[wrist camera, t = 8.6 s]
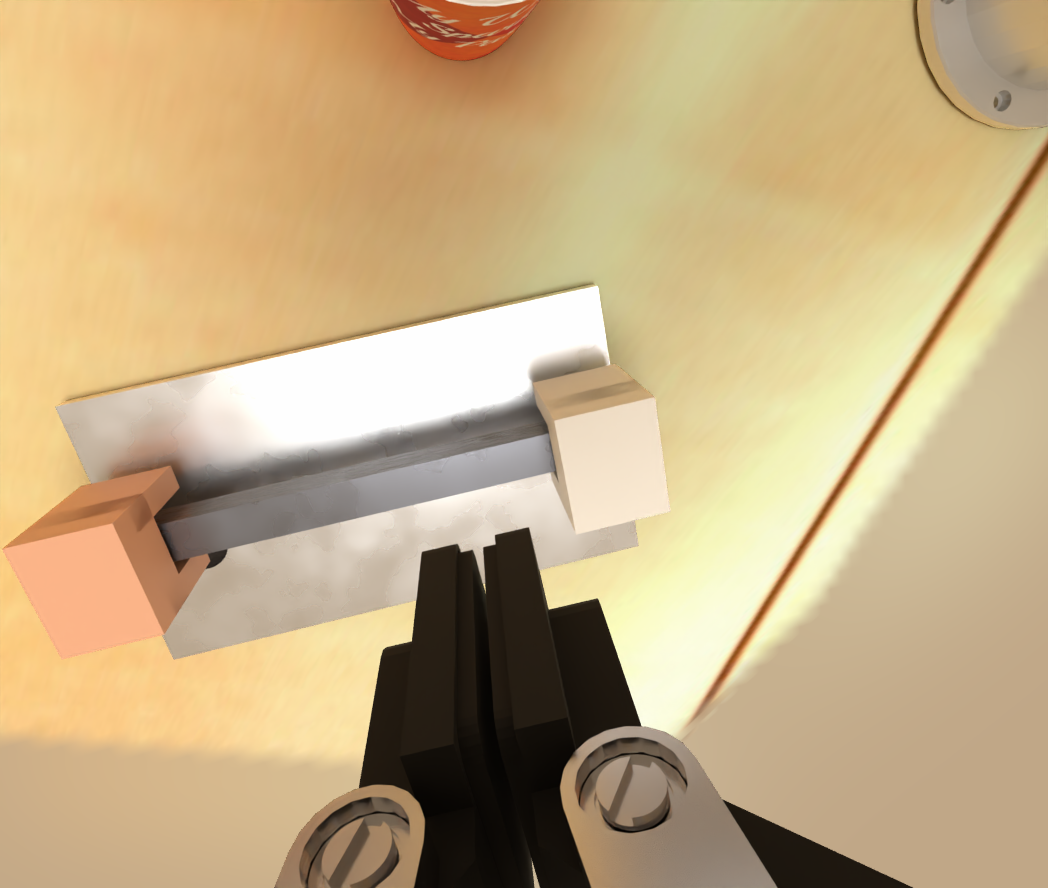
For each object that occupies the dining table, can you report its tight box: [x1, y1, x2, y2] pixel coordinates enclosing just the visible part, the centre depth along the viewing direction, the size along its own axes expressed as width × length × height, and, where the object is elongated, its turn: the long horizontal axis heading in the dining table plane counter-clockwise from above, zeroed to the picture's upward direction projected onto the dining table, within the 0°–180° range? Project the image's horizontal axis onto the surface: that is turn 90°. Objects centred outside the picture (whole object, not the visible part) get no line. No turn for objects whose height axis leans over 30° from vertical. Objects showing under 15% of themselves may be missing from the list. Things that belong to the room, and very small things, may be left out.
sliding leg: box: [2, 466, 210, 659], centre depth 29 cm, size 4×5×7 cm
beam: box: [154, 421, 556, 562], centre depth 31 cm, size 25×2×4 cm, turn 101°
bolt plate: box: [55, 284, 638, 659], centre depth 33 cm, size 25×14×1 cm, turn 101°
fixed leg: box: [532, 364, 670, 535], centre depth 30 cm, size 4×5×7 cm
